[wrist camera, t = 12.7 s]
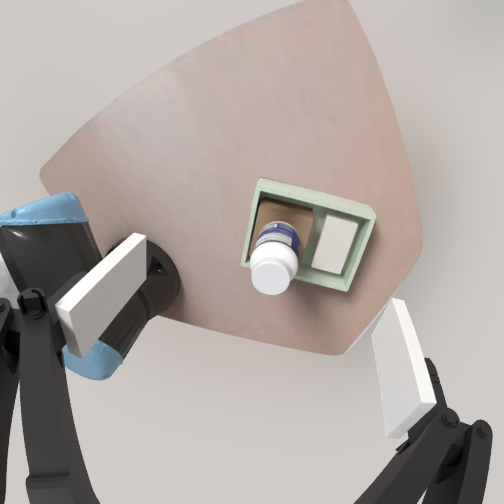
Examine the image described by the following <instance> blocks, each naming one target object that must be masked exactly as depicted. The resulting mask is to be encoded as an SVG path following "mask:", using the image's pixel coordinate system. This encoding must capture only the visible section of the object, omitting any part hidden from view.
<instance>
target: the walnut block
mask: <svg viewBox="0 0 504 504" xmlns="http://www.w3.org/2000/svg"><path fill="white" fill-rule="evenodd" d="M276 221H281V222H285V223H288V224H290V225H291V226H293V227H294V228H295V229H296V231H297V233H298V235H299V239H300V247H299V261H298V268H299V267H300V264H301V261H302V257H303V254H304V251H305V248H306V244H307V241H308V238H309V234H310V231H311V227H312V224H313V208H309V207H305V206H301V205H297V204H293V203H289V202H285V201H281V200H277V199H273V198H269V197H265V196H264V198H263V200H262V202H261V204H260V207H259V210H258V214H257V219H256V224H255V229H254V233H253V238H252V243H251V248H250V253H249V256H251V255H252V252H253V250H254V247H255V244H256V242H257V239H258V236H259V234H260V231H261V230H262V228H263V227H264V226H265V225H267V224H269V223H271V222H276Z"/></svg>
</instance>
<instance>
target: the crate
mask: <svg viewBox="0 0 504 504" xmlns="http://www.w3.org/2000/svg"><path fill="white" fill-rule="evenodd" d="M264 196H265V197H269V198H273V199H277V200H281V201H285V202H289V203H293V204H297V205H301V206H305V207H309V208H313V224H312V227H311V231H310V234H309V238H308V241H307V244H306V248H305V251H304V254H303V257H302V261H301V264H300V267H299V268H298V270H297V273H296V275H295V277H294V278H293V279H297V280H301V281H305V282H309V283H313V284H317V285H321V286H325V287H329V288H334V289H338V290H342V291H346V292H347V291H348V289H349V287H350V284H351V282H352V280H353V277H354V275H355V272H356V270H357V267H358V265H359V262H360V260H361V257H362V255H363V252H364V250H365V247H366V244H367V242H368V239H369V236H370V234H371V231H372V228H373V226H374V223H375V220H376V215H375V213H374V212H373V210H372V208H371V206H369V205H366V204H362V203H359V202H355V201H352V200H348V199H345V198H341V197H338V196H334V195H331V194H327V193H323V192H320V191H316V190H312V189H308V188H304V187H301V186H297V185H293V184H289V183H284V182H280V181H276V180H272V179H268V178H263V177H261V179H260V180H259V182H258V183H257V185H256V189H255V194H254V199H253V204H252V209H251V214H250V219H249V224H248V229H247V234H246V239H245V244H244V249H243V254H242V259H241V264H240V265H241V266H245V267H249V268H250V258H251V256H249V253H250V248H251V243H252V238H253V233H254V229H255V224H256V219H257V214H258V210H259V207H260V204H261V202H262V200H263V198H264ZM326 209H330V210H333V211H337V212H340V213H344V214H348V215H351V216H355V217H356V220H357V223H358V227H357V230H356V232H355V235H354V238H353V241H352V244H351V246H350V249H349V252H348V255H347V257H346V260H345V263H344V265H343V268H342V270H341V273H340V274H336V273H332V272H328V271H324V270H320V269H316V268H312V267H311V256H312V253H313V249H314V246H315V243H316V240H317V237H318V233H319V230H320V227H321V224H322V220H323V217H324V214H325V210H326Z"/></svg>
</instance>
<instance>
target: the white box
mask: <svg viewBox="0 0 504 504" xmlns="http://www.w3.org/2000/svg"><path fill="white" fill-rule="evenodd" d="M357 227H358V223H357V220H356V217H355V216H351V215H348V214H344V213H340V212H337V211H333V210H330V209H326V210H325V214H324V217H323V220H322V224H321V227H320V230H319V233H318V237H317V240H316V243H315V246H314V249H313V253H312V256H311V267H312V268H316V269H320V270H324V271H328V272H332V273H336V274H340V273H341V270H342V268H343V265H344V263H345V260H346V257H347V255H348V252H349V249H350V246H351V244H352V241H353V238H354V235H355V232H356V230H357Z"/></svg>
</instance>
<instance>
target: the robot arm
mask: <svg viewBox="0 0 504 504" xmlns="http://www.w3.org/2000/svg"><path fill="white" fill-rule="evenodd" d="M88 222H89V219H88V218H87V217H86V215H85V213H84V211H83V208H82V206H81V203H80V201H79V199H78V197H77V196H76V195H75V194H73V193H71V192H63V193H60V194H56V195H53V196H50V197H47V198H44V199H41V200H38V201H35V202H32V203H29V204H27V205H23V206H21V207H18V208H15V209H13V210H10V211H7V212H5V213H2V214H1V215H0V225H1V227H0V504H4V501H5V494H6V473H7V457H8V446H9V437H10V429H11V421H12V415H13V409H14V404H15V398H16V393H17V388H18V383H19V379H20V402H21V415H22V426H23V434H24V442H25V448H26V455H27V461H28V465H29V473H30V474H29V476H28V477H27V478H26V489H27V494H28V498H29V501H30V504H100V502H99V500H98V499H97V497H96V495H95V493H94V491H93V489H92V486H91V483H90V480H89V477H88V473H87V470H86V467H85V463H84V460H83V456H82V453H81V449H80V445H79V441H78V437H77V433H76V429H75V424H74V420H73V415H72V410H71V404H70V399H69V393H68V387H67V380H66V373H65V367H67V368H68V369H70V370H72V371H73V372H75V373H77V374H79V375H81V376H83V377H85V378H88V379H93V380H105V379H107V378H109V377H110V376H112V374H113V373H114V372H115V370H116V369H117V368H118V366H119V365H121V364H122V362H123V360H124V359H125V357H126V355H127V354H128V352H129V350H130V349H131V347H132V346H133V344H134V342H135V341H136V339H137V338H138V336H139V334H140V333H141V331H142V330H143V328H144V327H145V325H146V323H147V322H148V321H149V320H150V319H152V318H153V317H155V316H156V315H158V314H159V313H161V312H163V311H165V310H166V309H167V308H168V307H169V306H170V305H171V304H172V302H173V301H174V299H175V298H176V296H177V294H178V291H179V276H178V272H177V269H176V267H175V265H174V263H173V262H172V260H171V259H170V257H169V256H168V255H167V254H166V253H165V252H164V251H163V250H162V249H161V248H160V247H159V246H157V245H156V244H154V243H152V242H151V241H148V240H146V236H145V235H141V234H137V233H133V234H132V235H131V236H130V237H128V238H124V239H121V240H120V241H118V242H117V243H116V244H115V245H113V246H112V247H111V248H110V249H109V250H108V252H107V253H106V255H105V257H104V259H103V258H102V256H101V254H100V251H99V249H98V246H97V244H96V241H95V239H94V236H93V234H92V231H91V228H90V226H89V223H88ZM371 338H372V344H373V349H374V355H375V361H376V367H377V374H378V381H379V387H380V395H381V402H382V410H383V420H384V429H385V438H401V437H402V436H403V435H404V434H405V433H407V432H408V437H409V439H408V440H406V441H405V442H404V443H403V444H402V445H400V446H399V447H398V448H397V449H396V451H398V452H397V453H396V454H395V456H394V457H393V458H392V460H391V461H390V462H389V463H388V465H387V466H386V467H385V468H384V470H383V471H382V472H381V473H380V475H379V476H378V477H377V478H376V479H375V481H374V482H373V483H372V484H371V485H370V486H369V488H368V489H367V490H366V491H365V492H364V493H363V494H362V495H361V496H360V497H359V499H357V500H356V502H355V503H354V504H417V502H418V501H419V499H420V498H421V496H422V495H423V493H424V492H425V490H426V489H427V490H426V493H425V496H424V499H423V502H422V504H482V501H483V497H484V492H485V487H486V482H487V476H488V470H489V463H490V455H491V447H492V436H493V435H492V429H491V427H490V425H489V424H488V423H487V422H485V421H484V420H477V421H476V422H475V423H474V424H472V425H468V424H465V423H462V422H460V420H459V417H458V415H457V414H456V412H455V411H454V410H452V409H450V408H447V405H446V401H445V397H444V394H443V390H442V387H441V384H440V380H439V377H438V374H437V370H436V367H435V366H434V364H433V363H432V361H431V360H430V359H429V358H424V357H423V354H422V350H421V347H420V344H419V342H418V338H417V336H416V332H415V330H414V327H413V324H412V321H411V319H410V316H409V313H408V310H407V308H406V305H405V303H404V300H399V299H395V298H391V300H390V302H389V304H388V306H387V308H386V310H385V311H384V313H383V315H382V317H381V319H380V321H379V323H378V324H377V326H376V328H375V330H374V332H373V334H372V335H371ZM427 487H428V488H427Z"/></svg>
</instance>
